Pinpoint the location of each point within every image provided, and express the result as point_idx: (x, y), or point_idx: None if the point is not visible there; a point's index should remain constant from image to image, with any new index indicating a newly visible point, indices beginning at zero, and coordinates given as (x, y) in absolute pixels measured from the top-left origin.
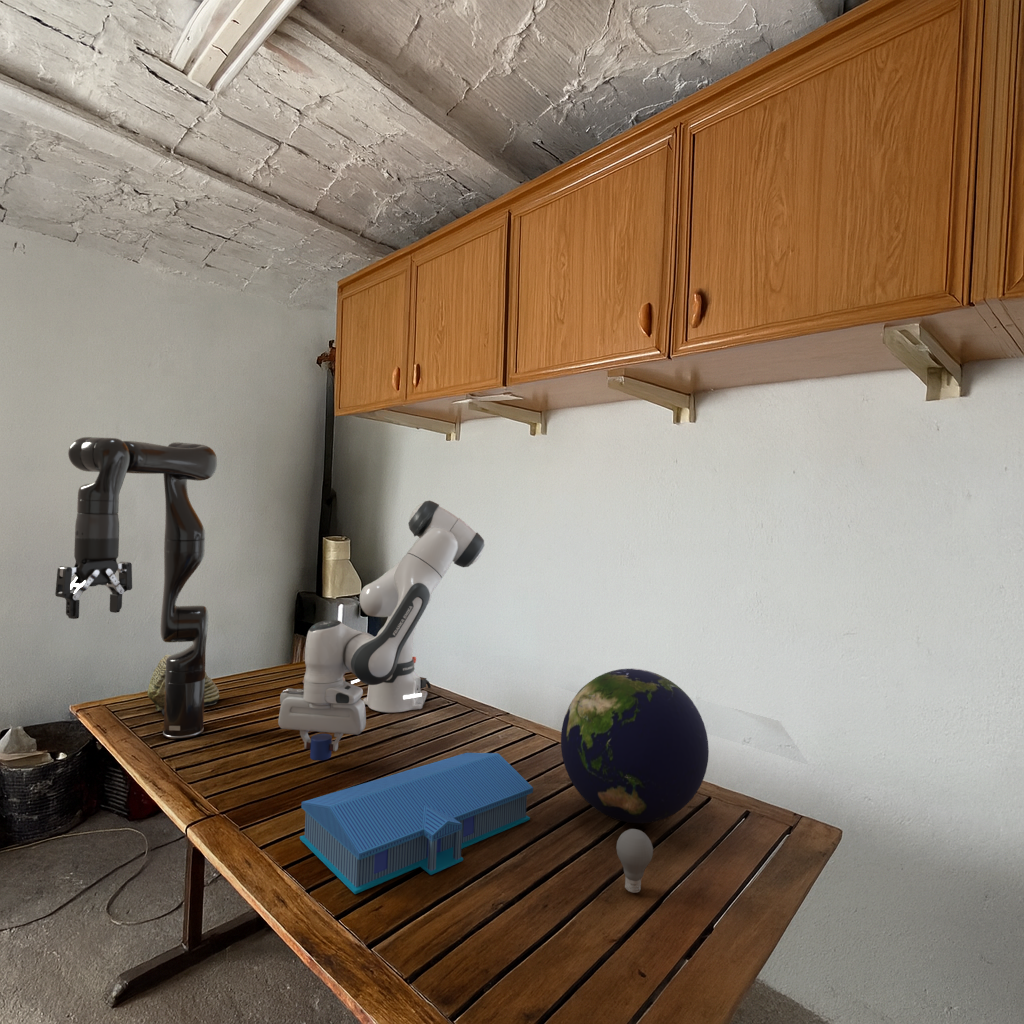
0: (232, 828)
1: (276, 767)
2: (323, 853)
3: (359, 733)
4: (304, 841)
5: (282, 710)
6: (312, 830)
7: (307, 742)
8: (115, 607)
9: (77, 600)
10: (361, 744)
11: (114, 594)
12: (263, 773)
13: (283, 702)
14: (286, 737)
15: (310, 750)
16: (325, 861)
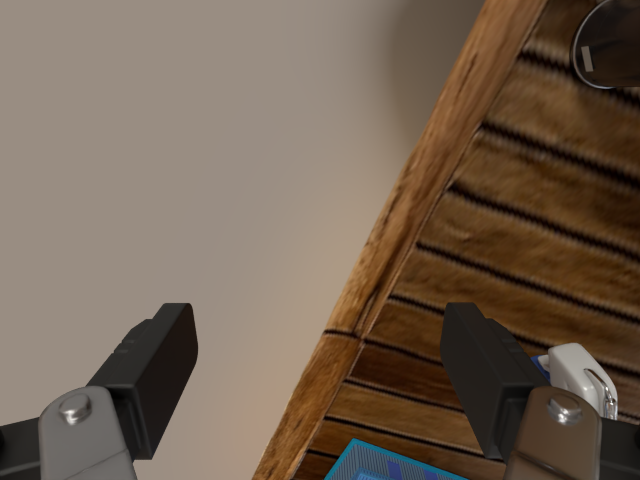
0: (341, 373)
1: (508, 310)
2: (335, 473)
3: None
4: (348, 447)
5: (568, 375)
6: (347, 468)
7: (543, 369)
8: (452, 365)
9: (136, 457)
10: (627, 359)
11: (502, 424)
12: (483, 308)
13: (579, 388)
14: (633, 244)
15: (536, 365)
16: (327, 477)
